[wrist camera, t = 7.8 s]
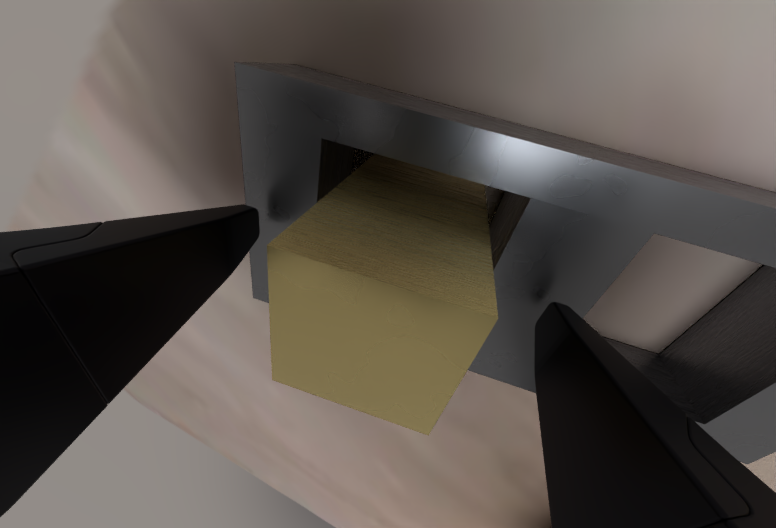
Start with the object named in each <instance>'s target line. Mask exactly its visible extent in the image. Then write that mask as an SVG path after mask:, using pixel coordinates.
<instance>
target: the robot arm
mask: <svg viewBox="0 0 776 528" xmlns="http://www.w3.org/2000/svg"><path fill="white" fill-rule="evenodd" d="M259 234H260V225H259V212H258V210H257V209H256V208H254V207H251V206H248V205H235V206H227V207H219V208H211V209H203V210H194V211H186V212H178V213H170V214H162V215H154V216H146V217H137V218H129V219H121V220H113V221H105V222H104V223H102V222H96V223H88V224H80V225H71V226H62V227H53V228H43V229H32V230H21V231H10V232H0V517H1V516H2V515H3V514H4V513H5V512H6V511H8V510H9V509H10V508H11V507H12V506H13V505H14V504H15V503H16V502H17V501H18V500H19V499H20V498H21V496H22V495H23V494H24V493H25V492H26V491H27V490H28V489H29V488H30V487H31V486H32V485H33V484H34V483H35V482H36V481H37V480H38V479H39V477H40V476H41V475H42V474H43V473H44V472H45V471H46V470H47V469H48V468H49V467H50V466H51V465H52V464H53V463H54V462H55V461H56V459H57V458H58V457H59V456H60V455H61V454H62V453H63V452H64V451H65V450H66V449H67V448H68V447H69V446H70V445H71V444H72V442H73V441H74V440H75V439H76V438H77V437H78V436H79V435H80V434H81V433H82V432H83V431H84V430H85V429H86V428H87V427H88V426H89V425H90V424H91V422H92V421H93V420H94V419H95V418H96V417H97V416H98V415H99V414H100V413H101V412H102V411H103V410H104V409H105V408H106V407H107V404H109V403H110V402H111V401H112V400H113V399H114V398H115V397H116V396H117V395H118V394H119V392H121V390H122V389H123V388H124V387H125V386H126V385H127V384H128V383H129V382H130V381H131V380H132V379H133V378H134V377H135V376H136V375H137V374H138V372H139V371H140V370H141V369H142V368H143V367H144V366H145V365H146V364H147V363H148V362H149V361H150V360H151V359H152V358H153V357H154V356H155V355H156V353H157V352H158V351H159V350H160V349H161V348H162V347H163V346H164V345H165V344H166V343H167V342H168V341H169V340H170V339H171V338H172V337H173V336H174V334H175V333H176V332H177V331H178V330H179V329H180V328H181V327H182V326H183V325H184V324H185V323H186V322H187V321H188V320H189V319H190V318H191V316H192V315H193V314H194V313H195V312H196V311H197V310H198V309H199V308H200V307H201V306H202V305H203V304H204V303H205V302H206V301H207V300H208V299H209V297H210V296H211V295H212V294H213V293H214V292H215V291H216V290H217V289H218V288H219V287H220V286H221V285H222V284H223V283H224V282H225V281H226V279H227V278H228V277H229V276H230V275H231V274H232V273H233V271H234V270H235V269H236V268H237V266H238V265H239V264H240V262H241V261H242V260H243V258H244V257H245V256H246V254H247V253H248V252H249V250H250V249H251V248H252V246H253V245H254V244H255V242H256V241H257V239H258V238H259ZM534 376H535V386H536V395H537V403H538V412H539V421H540V429H541V438H542V447H543V455H544V464H545V473H546V481H547V490H548V499H549V507H550V516H551V524H552V528H776V493H775V492H774V491H773V490H772V489H771V488H769V487H768V486H767V485H766V484H765V483H764V482H762V481H761V480H760V479H759V478H758V477H757V476H756V475H754V474H753V473H752V472H751V471H750V470H749V469H747V468H746V467H745V466H744V465H743V464H742V463H740V462H739V461H738V460H737V459H736V458H735V457H734V456H732V455H731V454H730V453H729V452H728V451H727V450H726V449H725V448H724V447H722V446H721V445H720V444H719V443H718V442H717V441H716V440H715V439H713V438H712V437H711V436H710V435H709V434H708V433H707V432H706V431H705V430H704V429H702V428H701V427H700V426H699V425H698V424H697V423H696V422H695V421H694V420H693V419H692V418H690V417H687V416H686V413H685V412H684V411H683V410H682V409H681V408H679V407H678V406H677V405H676V404H675V403H674V402H673V401H672V400H671V399H670V398H668V397H667V396H666V395H665V394H664V393H663V392H662V391H661V390H660V389H659V388H658V387H656V386H655V385H654V384H653V383H652V382H651V381H650V380H649V379H648V378H647V377H646V376H644V375H643V374H642V373H641V372H640V371H639V370H638V369H637V368H636V367H635V366H634V365H632V364H631V363H630V362H629V361H628V360H627V359H626V358H625V357H624V356H623V355H622V354H620V353H619V352H618V351H617V350H616V349H615V348H614V347H613V346H612V345H611V344H610V343H608V342H607V341H606V340H605V339H604V338H603V337H602V336H601V335H600V334H599V333H598V332H596V331H595V330H594V329H593V328H592V327H591V326H590V325H589V324H588V323H587V322H586V321H584V320H583V319H582V318H581V317H580V316H579V315H578V314H577V313H576V312H575V311H574V310H572V309H571V308H570V307H569V306H567V305H565V304H562V303H558V302H551V303H550V304H549V305H548V306H547V308H546V309H545V310H544V312H543V313H542V314H541V316H540V317H539V319H538V320H537V322H536V324H535V340H534Z"/></svg>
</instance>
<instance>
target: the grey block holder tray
mask: <svg viewBox="0 0 776 528" xmlns="http://www.w3.org/2000/svg"><path fill="white" fill-rule="evenodd" d="M234 63H235V76H236V88H237V101H238V113H239V126H240V138H241V151H242V163H243V176H244V189H245V201H246V205H248V206H251V207H254V208H256V209H257V210H258V212H259V225H260V234H259V238H258V239H257V241H256V242H255V244H254V245H253V246H252V248H251V249H250V250H249V251H250V264H251V276H252V289H253V298H255V299H258V300H261V301H264V302H267V303H269V289H268V265H267V244H269V243H270V242H271V241H272V240H273V239H275V238H276V237H277V236H278V235H279V234H281V233H282V232H283V231H284V230H285V229H286V228H288V227H289V226H290V225H291V224H292V223H294V222H295V221H296V220H297V219H298V218H300V217H301V216H302V215H303V214H304V213H305V212H307V211H308V210H309V209H310V208H311V207H313V206H314V205H315V204H316V203H317V202H318V201H320V200H321V199H322V198H323V197H324V196H326V195H327V194H328V193H329V192H330V191H332V190H333V189H334V188H335V187H336V186H337V185H339V184H340V183H341V182H342V181H343V180H345V179H346V178H347V177H348V176H349V175H350V174H351V167H352V160H353V153H354V148H357V149H361V150H364V151H368V152H371V153H375V154H378V155H382V156H385V157H389V158H392V159H396V160H399V161H403V162H406V163H410V164H413V165H417V166H420V167H424V168H427V169H431V170H434V171H438V172H441V173H445V174H448V175H452V176H455V177H459V178H462V179H466V180H469V181H473V182H476V183H480V184H483V185H487V186H490V187H494V188H497V189H501V190H504V191H505V193H504V195H503V198H502V200H501V202H500V204H499V206H498V208H497V211H496V213H495V215H494V217H493V219H492V222H491V224H490V226H489V234H490V244H491V253H492V263H493V272H494V282H495V292H496V301H497V311H498V320H497V322H496V323H495V325H494V327H493V328H492V330H491V332H490V333H489V335H488V337H487V338H486V340H485V342H484V343H483V345H482V347H481V348H480V350H479V352H478V353H477V355H476V357H475V358H474V360H473V362H472V363H471V365H470V367H469V368H468V370H469V371H472V372H475V373H478V374H481V375H484V376H487V377H490V378H493V379H496V380H499V381H502V382H505V383H508V384H511V385H514V386H517V387H520V388H522V389H525V390H528V391H531V392H534V393H536V386H535V376H534V340H535V324H536V322H537V320H538V319H539V317H540V316H541V314H542V313H543V312H544V310H545V309H546V308H547V306H548V305H549V304H550V303H551V302H558V303H562V304H565V305H567V306H569V307H570V308H571V309H572V310H574V311H575V312H576V313H577V314H578V315H579V316H580V317H581V318H583V317H584V316H585V315H586V314H587V312H588V311H589V310H590V309H591V308H592V306H593V305H594V304H595V303H596V302H597V301H598V299H599V298H600V297H601V296H602V295H603V293H604V292H605V291H606V290H607V289H608V287H609V286H610V285H611V284H612V283H613V282H614V280H615V279H616V278H617V277H618V276H619V274H620V273H621V272H622V271H623V270H624V268H625V267H626V266H627V265H628V264H629V262H630V261H631V260H632V259H633V258H634V257H635V255H636V254H637V253H638V252H639V251H640V249H641V248H642V247H643V246H644V245H645V243H646V242H647V241H648V240H649V239H650V238H651V236H652V235H653V234H654V233H655V234H659V235H662V236H666V237H669V238H673V239H676V240H680V241H683V242H687V243H690V244H694V245H697V246H701V247H704V248H708V249H711V250H715V251H718V252H722V253H725V254H729V255H732V256H736V257H739V258H743V259H746V260H750V261H753V262H757V263H760V264H764V266H763V267H762V268H761V269H759V270H758V271H757V272H756V273H755V274H754V275H752V276H751V277H750V278H749V279H748V280H747V281H745V282H744V283H743V284H742V285H741V286H739V287H738V288H737V289H736V290H735V291H734V292H732V293H731V294H730V295H729V296H728V297H726V298H725V299H724V300H723V301H722V302H721V303H719V304H718V305H717V306H716V307H715V308H714V309H712V310H711V311H710V312H709V313H708V314H706V315H705V316H704V317H703V318H702V319H701V320H699V321H698V322H697V323H696V324H695V325H694V326H692V327H691V328H690V329H689V330H688V331H686V332H685V333H684V334H683V335H682V336H681V337H679V338H678V339H677V340H676V341H675V342H673V343H672V344H671V345H670V346H669V347H668V348H666V349H665V350H664V351H663V352H662V353H661V354H659V355H658V354H655V353H652V352H649V351H646V350H642V349H639V348H636V347H633V346H630V345H627V344H624V343H620V342H617V341H614V340H611V339H608V338H605V337H603V338H604V339H605V340H606V341H607V342H608V343H610V344H611V345H612V346H613V347H614V348H615V349H616V350H617V351H618V352H619V353H620V354H622V355H623V356H624V357H625V358H626V359H627V360H628V361H629V362H630V363H631V364H632V365H634V366H635V367H636V368H637V369H638V370H639V371H640V372H641V373H642V374H643V375H644V376H646V377H647V378H648V379H649V380H650V381H651V382H652V383H653V384H654V385H655V386H656V387H658V388H659V389H660V390H661V391H662V392H663V393H664V394H665V395H666V396H667V397H668V398H670V399H671V400H672V401H673V402H674V403H675V404H676V405H677V406H678V407H679V408H681V409H682V410H683V411H684V412H685V413H686V416H687V417H690V418H692V419H693V420H694V421H695V422H696V423H697V424H698V425H699V426H700V427H701V428H702V429H704V430H705V431H706V432H707V433H708V434H709V435H710V436H711V437H712V438H713V439H715V440H716V441H717V442H718V443H719V444H720V445H721V446H722V447H724V448H725V449H726V450H727V451H728V452H729V453H730V454H731V455H732V456H734V457H735V458H736V459H737V460H738V461H739V462H742V463H745V464H749V463H752V462H754V461H756V460H758V459H760V458H763V457H765V456H767V455H769V454H772V453H774V452H776V193H775V192H771V191H767V190H764V189H760V188H756V187H752V186H749V185H745V184H741V183H737V182H734V181H730V180H726V179H722V178H719V177H715V176H711V175H707V174H704V173H700V172H696V171H692V170H689V169H685V168H681V167H677V166H674V165H670V164H666V163H662V162H659V161H655V160H651V159H647V158H644V157H640V156H636V155H632V154H629V153H625V152H621V151H617V150H614V149H610V148H606V147H602V146H599V145H595V144H591V143H587V142H584V141H580V140H576V139H572V138H569V137H565V136H561V135H557V134H554V133H550V132H546V131H542V130H539V129H535V128H531V127H527V126H524V125H520V124H516V123H512V122H509V121H505V120H501V119H497V118H494V117H490V116H486V115H482V114H479V113H475V112H471V111H467V110H464V109H460V108H456V107H452V106H449V105H445V104H441V103H437V102H434V101H430V100H426V99H422V98H419V97H415V96H411V95H407V94H404V93H400V92H396V91H392V90H389V89H385V88H381V87H377V86H374V85H370V84H366V83H362V82H359V81H355V80H351V79H347V78H344V77H340V76H336V75H332V74H329V73H325V72H321V71H317V70H314V69H310V68H306V67H302V66H299V65H295V64H274V63H247V62H234Z"/></svg>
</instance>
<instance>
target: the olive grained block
mask: <svg viewBox="0 0 776 528" xmlns="http://www.w3.org/2000/svg"><path fill="white" fill-rule="evenodd" d="M267 265H268V289H269V313H270V338H271V362H272V380H274V381H277V382H279V383H282V384H285V385H288V386H291V387H293V388H296V389H299V390H302V391H305V392H308V393H310V394H313V395H316V396H319V397H322V398H324V399H327V400H330V401H333V402H336V403H338V404H341V405H344V406H347V407H350V408H353V409H355V410H358V411H361V412H364V413H367V414H369V415H372V416H375V417H378V418H381V419H383V420H386V421H389V422H392V423H395V424H397V425H400V426H403V427H406V428H409V429H412V430H414V431H417V432H420V433H423V434H426V435H429V433H430V432H431V430H432V428H433V427H434V425H435V423H436V422H437V420H438V418H439V417H440V415H441V413H442V412H443V410H444V408H445V407H446V405H447V403H448V402H449V400H450V398H451V397H452V395H453V393H454V392H455V390H456V388H457V387H458V385H459V383H460V382H461V380H462V378H463V377H464V375H465V373H466V372H467V370H468V368H469V367H470V365H471V363H472V362H473V360H474V358H475V357H476V355H477V353H478V352H479V350H480V348H481V347H482V345H483V343H484V342H485V340H486V338H487V337H488V335H489V333H490V332H491V330H492V328H493V327H494V325H495V323H496V322H497V320H498V311H497V301H496V292H495V282H494V272H493V263H492V253H491V244H490V234H489V224H488V215H487V205H486V195H485V186H484V185H483V184H480V183H476V182H473V181H469V180H466V179H462V178H459V177H455V176H452V175H448V174H445V173H441V172H438V171H434V170H431V169H427V168H424V167H420V166H417V165H413V164H410V163H406V162H403V161H399V160H396V159H392V158H389V157H385V156H382V155H378V154H374V155H373V156H372V157H371V158H369V159H368V160H367V161H366V162H365V163H364V164H362V165H361V166H360V167H359V168H358V169H356V170H355V171H354V172H353V173H352V174H350V175H349V176H348V177H347V178H346V179H345V180H343V181H342V182H341V183H340V184H339V185H337V186H336V187H335V188H334V189H333V190H332V191H330V192H329V193H328V194H327V195H326V196H324V197H323V198H322V199H321V200H320V201H318V202H317V203H316V204H315V205H314V206H313V207H311V208H310V209H309V210H308V211H307V212H305V213H304V214H303V215H302V216H301V217H300V218H298V219H297V220H296V221H295V222H294V223H292V224H291V225H290V226H289V227H288V228H286V229H285V230H284V231H283V232H282V233H281V234H279V235H278V236H277V237H276V238H275V239H273V240H272V241H271V242H270V243H269V244H267Z"/></svg>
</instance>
